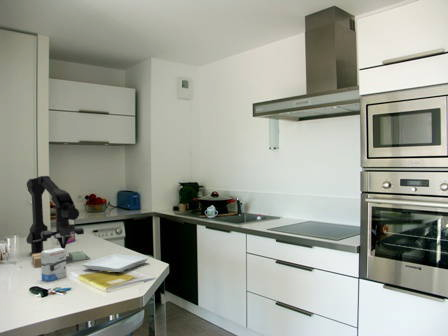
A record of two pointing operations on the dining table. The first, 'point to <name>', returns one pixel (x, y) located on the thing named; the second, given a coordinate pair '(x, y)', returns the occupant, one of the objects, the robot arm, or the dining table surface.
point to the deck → (36, 260)
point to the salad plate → (115, 263)
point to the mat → (75, 260)
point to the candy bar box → (71, 234)
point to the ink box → (53, 264)
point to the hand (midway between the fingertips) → (63, 250)
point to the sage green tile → (77, 255)
